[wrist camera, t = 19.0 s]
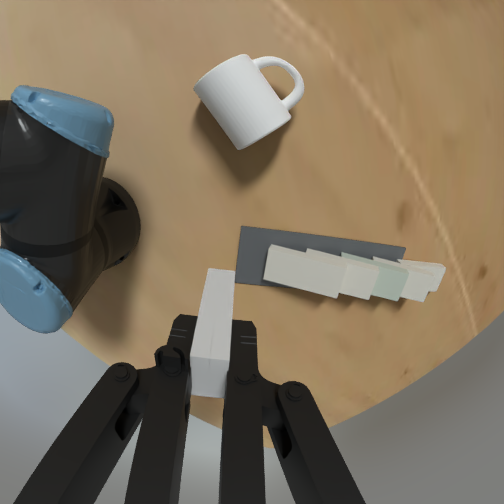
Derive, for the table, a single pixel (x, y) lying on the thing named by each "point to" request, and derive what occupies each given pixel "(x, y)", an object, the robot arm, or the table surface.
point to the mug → (247, 98)
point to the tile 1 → (304, 271)
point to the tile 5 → (433, 267)
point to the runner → (260, 239)
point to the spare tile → (385, 278)
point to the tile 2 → (354, 275)
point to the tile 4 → (413, 280)
